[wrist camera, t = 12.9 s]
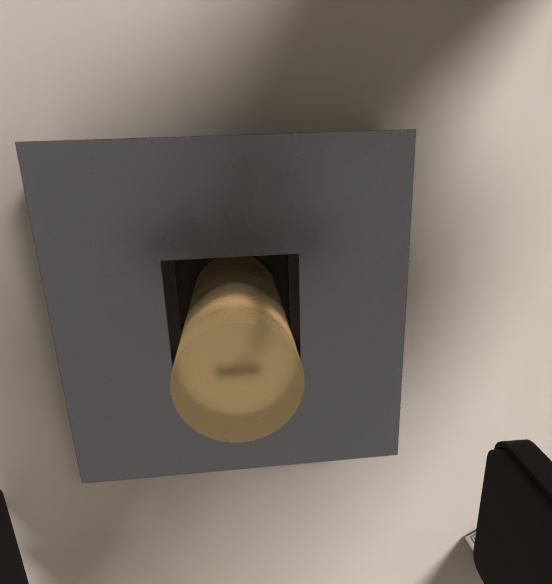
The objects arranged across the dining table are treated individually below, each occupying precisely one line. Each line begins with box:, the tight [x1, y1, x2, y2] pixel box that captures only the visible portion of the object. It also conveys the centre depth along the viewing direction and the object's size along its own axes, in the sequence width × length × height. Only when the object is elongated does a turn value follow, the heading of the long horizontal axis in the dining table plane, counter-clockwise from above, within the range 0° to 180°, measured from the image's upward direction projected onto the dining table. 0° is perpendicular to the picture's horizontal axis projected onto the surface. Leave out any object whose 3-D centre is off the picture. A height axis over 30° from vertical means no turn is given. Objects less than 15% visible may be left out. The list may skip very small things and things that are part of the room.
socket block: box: [15, 129, 416, 483], centre depth 22 cm, size 16×16×4 cm
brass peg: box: [170, 256, 305, 443], centre depth 20 cm, size 4×4×10 cm
